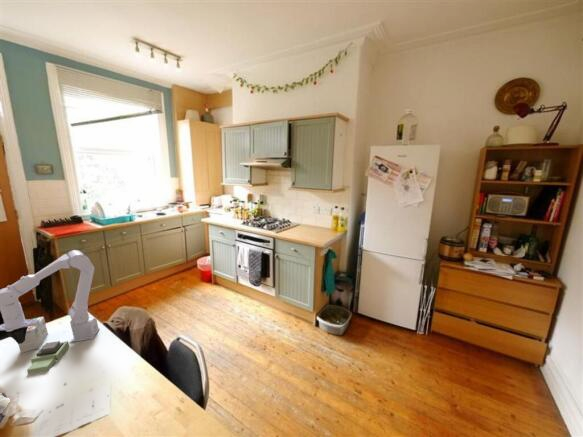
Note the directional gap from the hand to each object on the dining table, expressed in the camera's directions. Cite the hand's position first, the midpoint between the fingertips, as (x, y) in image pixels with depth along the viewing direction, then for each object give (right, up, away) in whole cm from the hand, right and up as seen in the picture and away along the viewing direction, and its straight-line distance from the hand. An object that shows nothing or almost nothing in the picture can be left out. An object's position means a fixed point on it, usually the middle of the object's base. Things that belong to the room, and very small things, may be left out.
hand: (21, 342), depth 108 cm
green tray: (+9, -9, +2) cm, 13 cm away
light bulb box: (-6, -7, +12) cm, 15 cm away
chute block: (+8, -9, +5) cm, 13 cm away
